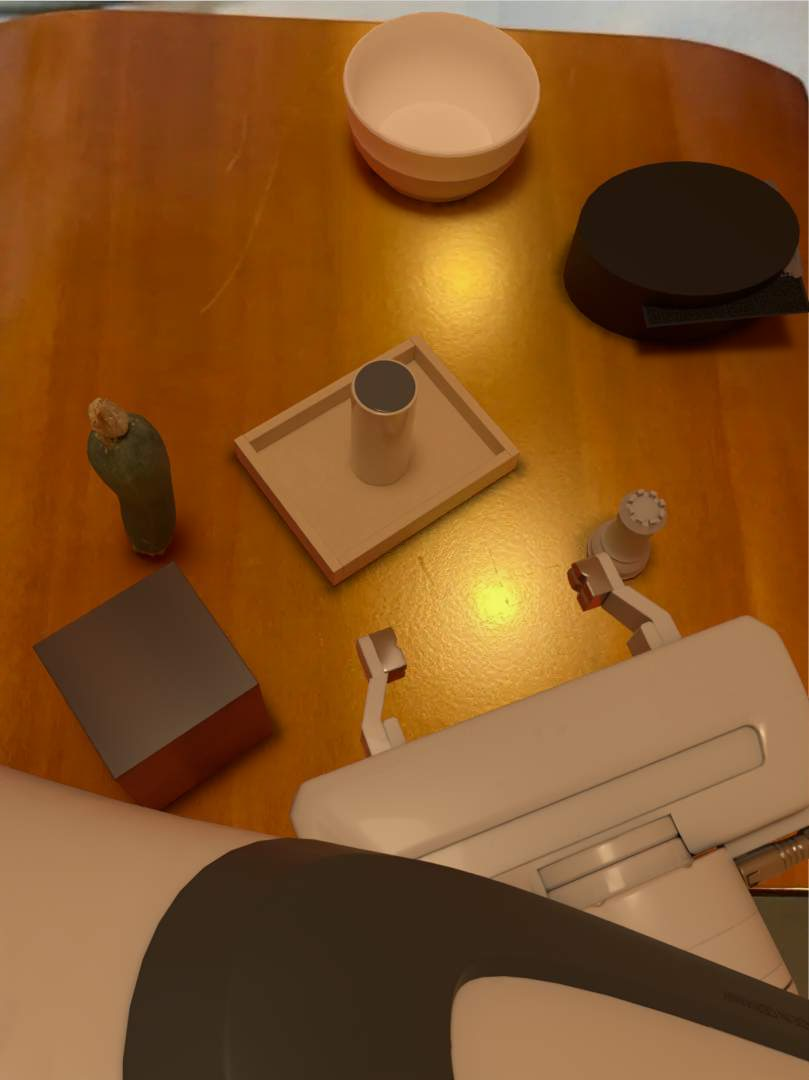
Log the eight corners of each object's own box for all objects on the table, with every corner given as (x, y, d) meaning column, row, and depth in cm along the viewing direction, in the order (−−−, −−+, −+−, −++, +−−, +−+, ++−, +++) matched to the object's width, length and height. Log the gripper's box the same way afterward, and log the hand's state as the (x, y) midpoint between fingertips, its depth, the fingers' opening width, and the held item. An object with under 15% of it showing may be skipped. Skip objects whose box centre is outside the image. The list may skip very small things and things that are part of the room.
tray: (333, 586, 70) (333, 572, 68) (236, 457, 74) (233, 439, 71) (515, 468, 75) (520, 451, 72) (415, 352, 78) (417, 332, 76)
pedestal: (153, 814, 63) (114, 780, 52) (82, 701, 66) (31, 646, 55) (272, 732, 66) (259, 683, 55) (200, 627, 68) (173, 559, 57)
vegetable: (154, 505, 72) (92, 344, 53) (206, 531, 71) (161, 376, 53) (120, 556, 70) (44, 406, 52) (173, 582, 69) (115, 440, 51)
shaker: (388, 496, 72) (395, 426, 63) (338, 466, 73) (338, 392, 64) (420, 453, 74) (431, 378, 65) (370, 424, 75) (375, 346, 66)
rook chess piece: (651, 580, 72) (686, 535, 64) (590, 583, 71) (619, 538, 64) (640, 524, 73) (673, 474, 66) (581, 527, 73) (608, 477, 66)
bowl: (361, 237, 83) (363, 165, 75) (327, 97, 89) (326, 19, 82) (544, 214, 85) (564, 143, 78) (499, 79, 91) (513, 2, 84)
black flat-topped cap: (549, 225, 86) (561, 163, 79) (753, 207, 86) (783, 144, 79) (577, 370, 80) (593, 317, 74) (794, 349, 81) (831, 295, 74)
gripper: (921, 819, 35) (730, 486, 40) (372, 1063, 30) (235, 657, 35) (838, 842, 40) (680, 549, 45) (367, 1050, 36) (250, 703, 41)
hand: (481, 598), depth 40 cm, fingers open, 8 cm apart
